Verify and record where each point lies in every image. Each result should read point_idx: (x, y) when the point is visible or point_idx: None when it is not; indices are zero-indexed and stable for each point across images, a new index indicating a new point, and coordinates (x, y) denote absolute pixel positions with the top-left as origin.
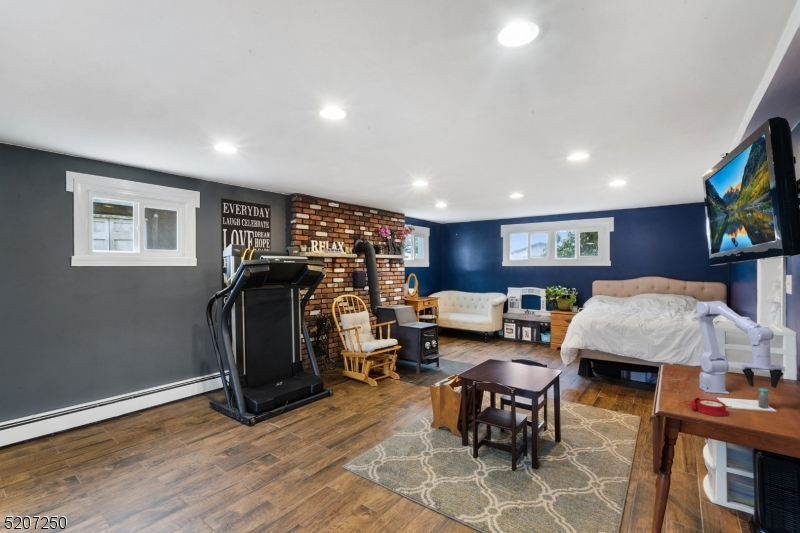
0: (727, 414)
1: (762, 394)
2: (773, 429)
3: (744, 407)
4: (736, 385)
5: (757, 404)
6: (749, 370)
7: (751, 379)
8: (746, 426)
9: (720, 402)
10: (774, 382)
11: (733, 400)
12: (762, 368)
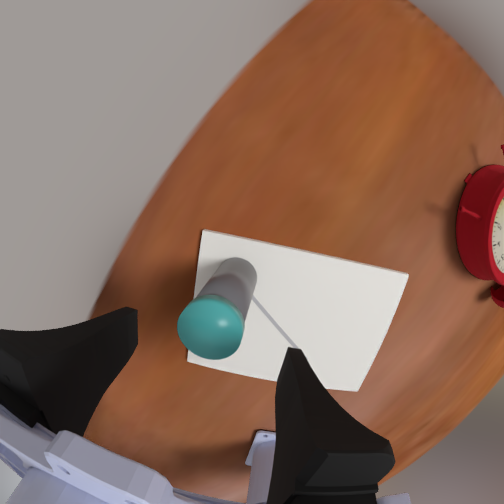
0: (473, 177)
1: (237, 295)
2: (382, 17)
3: (340, 271)
4: (177, 469)
5: None
6: (329, 490)
7: (318, 388)
8: (461, 60)
9: (489, 242)
10: (109, 333)
11: (314, 364)
12: (173, 496)
